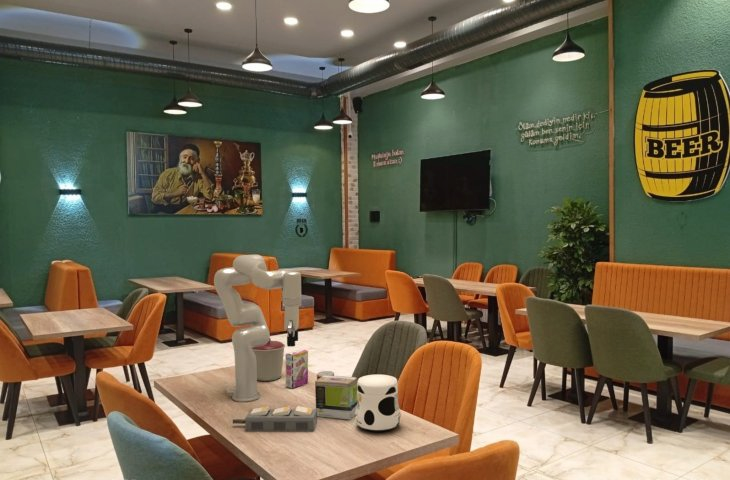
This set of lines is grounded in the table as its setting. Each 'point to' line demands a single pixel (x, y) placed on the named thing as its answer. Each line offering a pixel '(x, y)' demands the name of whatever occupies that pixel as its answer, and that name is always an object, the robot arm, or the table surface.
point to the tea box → (336, 396)
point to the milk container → (377, 403)
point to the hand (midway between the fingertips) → (292, 343)
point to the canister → (269, 360)
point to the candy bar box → (296, 368)
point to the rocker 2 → (282, 411)
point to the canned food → (324, 374)
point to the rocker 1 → (260, 411)
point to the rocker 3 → (303, 411)
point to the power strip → (279, 422)
